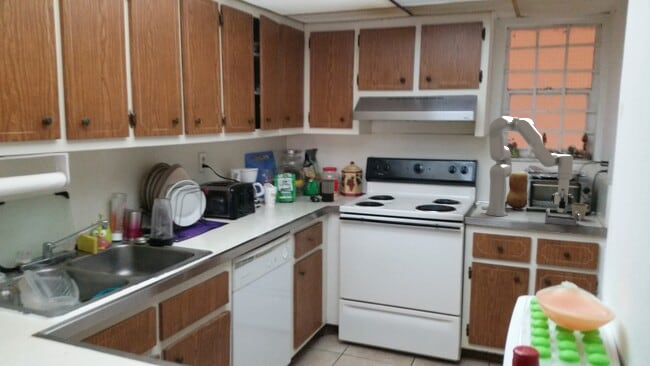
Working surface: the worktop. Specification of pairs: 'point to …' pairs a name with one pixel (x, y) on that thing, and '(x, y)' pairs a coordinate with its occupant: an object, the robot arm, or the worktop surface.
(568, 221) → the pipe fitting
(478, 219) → the worktop surface
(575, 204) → the flower pot
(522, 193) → the butternut squash
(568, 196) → the pneumatic valve
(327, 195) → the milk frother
